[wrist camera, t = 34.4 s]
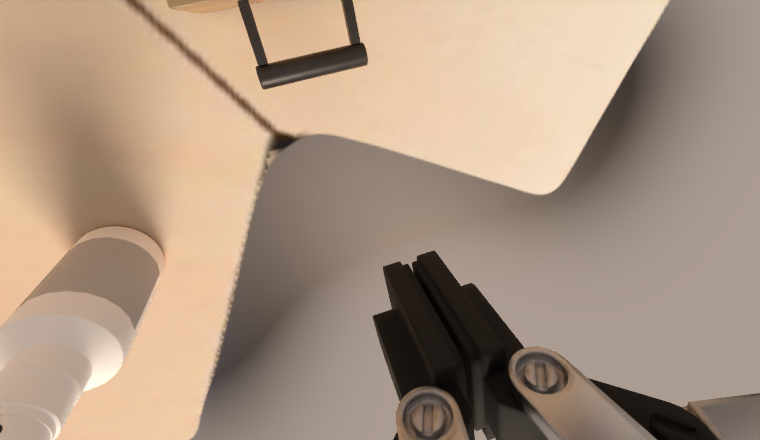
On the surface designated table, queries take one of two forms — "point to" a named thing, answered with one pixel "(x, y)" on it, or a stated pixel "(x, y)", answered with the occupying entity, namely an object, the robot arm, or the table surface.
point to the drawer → (295, 67)
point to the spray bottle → (74, 329)
